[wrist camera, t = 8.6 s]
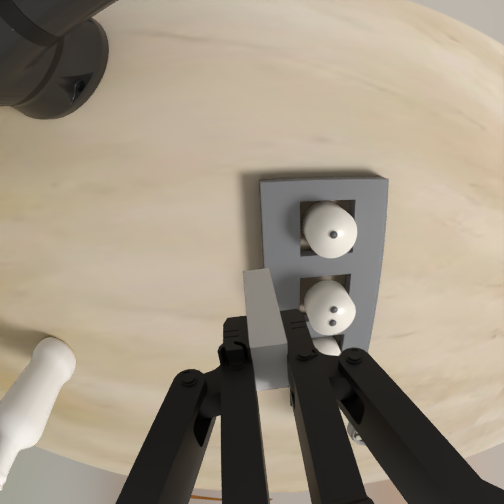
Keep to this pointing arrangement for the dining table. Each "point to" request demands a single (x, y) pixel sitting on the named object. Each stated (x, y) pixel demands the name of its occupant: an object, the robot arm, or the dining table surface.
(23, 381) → the bottle
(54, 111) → the robot arm
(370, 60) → the dining table surface
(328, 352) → the three dot button
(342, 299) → the two dot button
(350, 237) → the one dot button
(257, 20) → the dining table surface
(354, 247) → the button board
